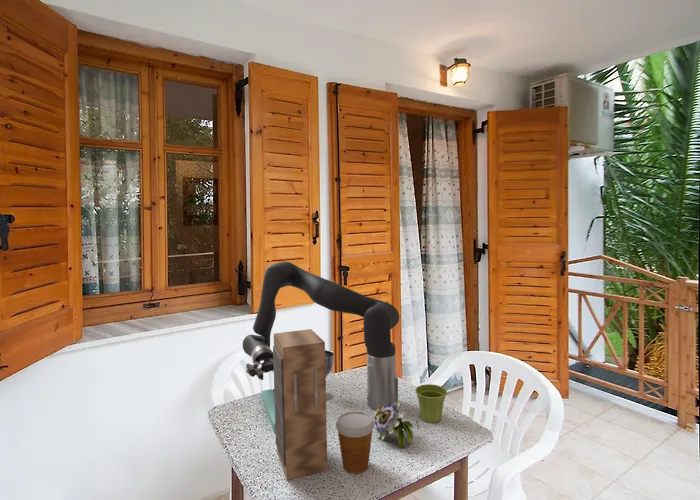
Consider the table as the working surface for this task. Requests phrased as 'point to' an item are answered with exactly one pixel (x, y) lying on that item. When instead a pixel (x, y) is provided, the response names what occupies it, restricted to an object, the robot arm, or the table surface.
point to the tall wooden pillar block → (300, 402)
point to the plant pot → (431, 401)
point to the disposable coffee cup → (355, 440)
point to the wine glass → (329, 368)
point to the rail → (269, 405)
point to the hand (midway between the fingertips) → (271, 375)
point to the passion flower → (393, 423)
